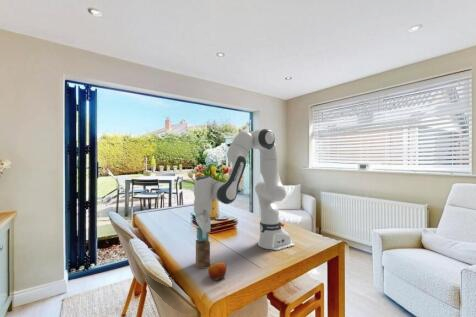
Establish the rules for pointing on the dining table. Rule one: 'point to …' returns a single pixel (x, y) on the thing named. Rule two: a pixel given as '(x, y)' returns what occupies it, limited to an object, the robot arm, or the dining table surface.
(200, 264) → the block
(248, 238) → the dining table surface
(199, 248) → the tower top
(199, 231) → the teal block
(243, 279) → the dining table surface
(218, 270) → the fruit
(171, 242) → the dining table surface
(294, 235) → the dining table surface
